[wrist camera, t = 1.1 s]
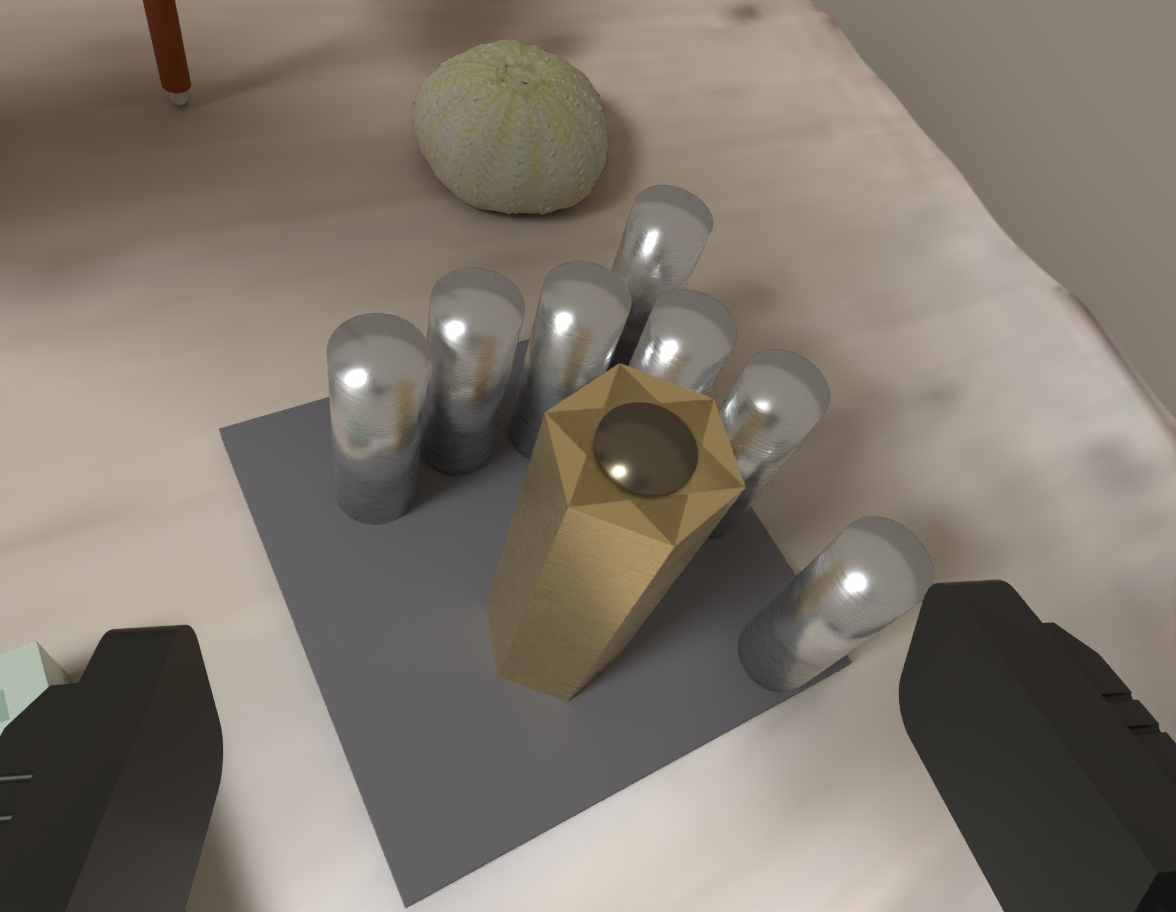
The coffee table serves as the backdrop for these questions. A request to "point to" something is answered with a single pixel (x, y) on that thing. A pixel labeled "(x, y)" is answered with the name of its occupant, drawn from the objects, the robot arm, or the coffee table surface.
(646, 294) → the spacer posts
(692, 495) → the gold hexagonal pillar
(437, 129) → the sea urchin shell
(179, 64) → the magnifying glass
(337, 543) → the mat
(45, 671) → the parts tray
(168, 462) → the coffee table surface
